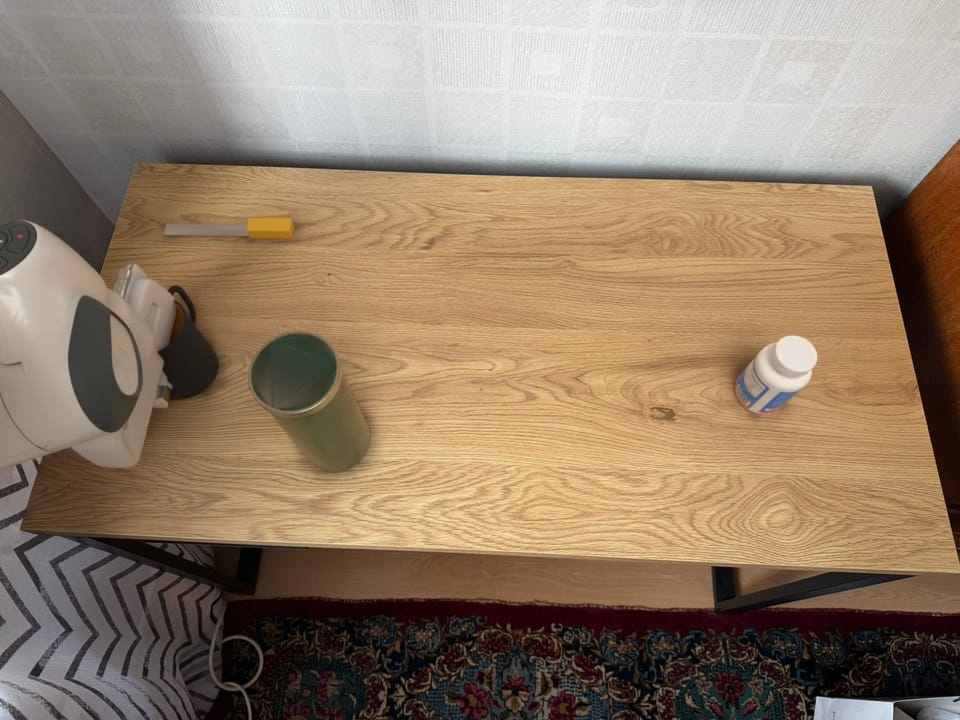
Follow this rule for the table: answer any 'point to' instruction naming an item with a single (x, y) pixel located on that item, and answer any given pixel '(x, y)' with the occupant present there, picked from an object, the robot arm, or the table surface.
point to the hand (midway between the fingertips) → (163, 397)
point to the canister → (310, 399)
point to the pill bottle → (776, 374)
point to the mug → (187, 353)
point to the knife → (235, 229)
